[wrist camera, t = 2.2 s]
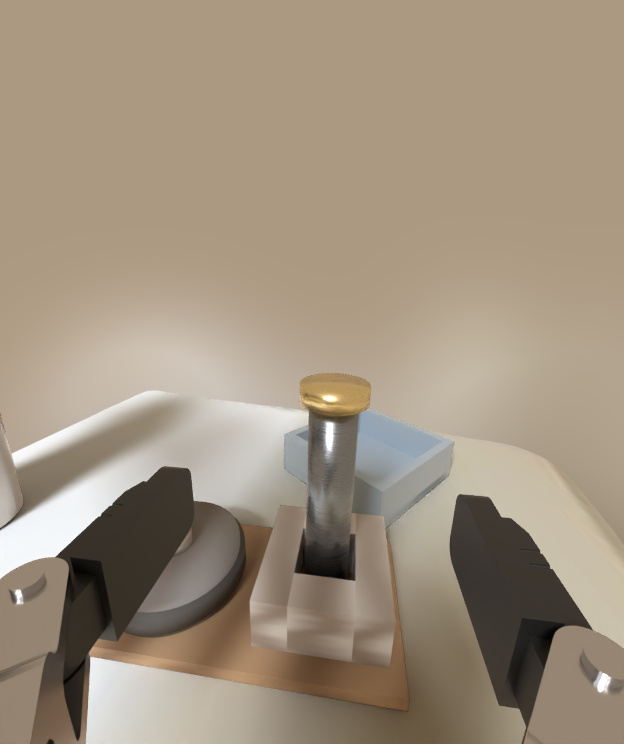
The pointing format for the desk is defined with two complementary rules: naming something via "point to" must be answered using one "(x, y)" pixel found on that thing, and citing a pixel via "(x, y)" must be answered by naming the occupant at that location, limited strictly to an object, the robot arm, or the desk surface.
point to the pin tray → (383, 463)
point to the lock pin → (331, 467)
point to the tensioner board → (262, 665)
